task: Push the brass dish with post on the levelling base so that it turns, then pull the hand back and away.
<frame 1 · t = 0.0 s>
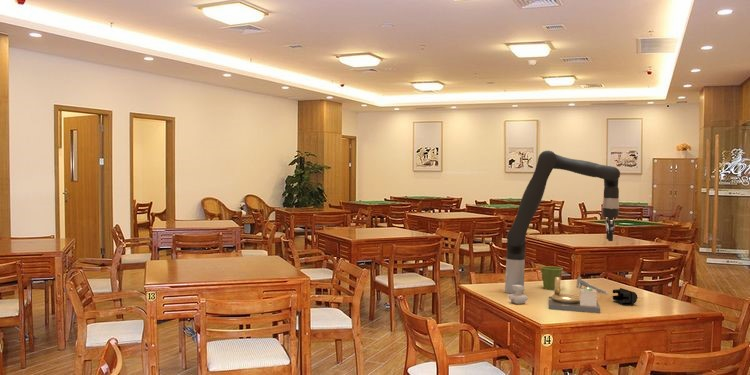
hand: (609, 240, 314), 29 cm above the table, tool pointing down, fingers open, 8 cm apart
brass dish with post: (566, 289, 299), point 7 cm above the table, hinge at 0.0°
caliper: (591, 291, 338), on the table
end cap: (624, 304, 305), on the table
plant pot: (550, 289, 340), on the table
levelling base: (573, 306, 295), on the table
white rounded piece: (517, 303, 300), on the table
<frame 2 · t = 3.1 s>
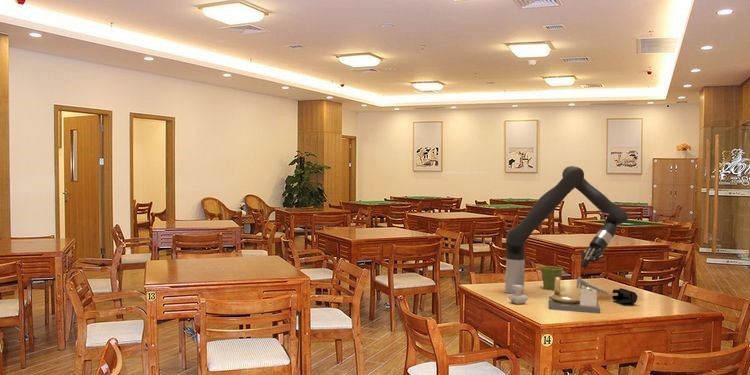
hand: (582, 266, 312), 16 cm above the table, tool tilted 45°, fingers closed
nothing on the table moved.
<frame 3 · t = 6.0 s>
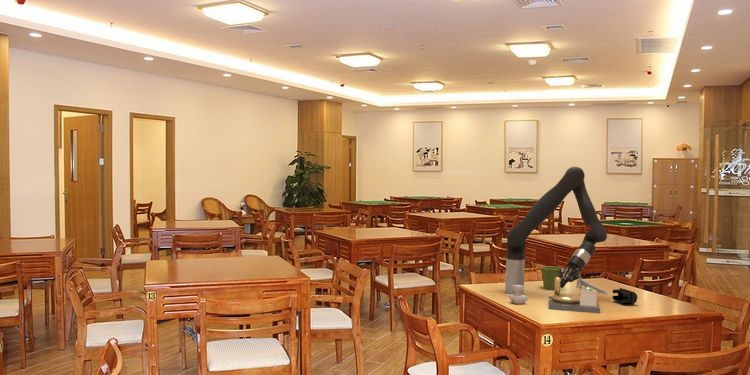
hand: (560, 286, 305), 7 cm above the table, tool tilted 45°, fingers closed
brass dish with post: (566, 289, 299), point 7 cm above the table, hinge at 0.0°, touching gripper
everything else where it was.
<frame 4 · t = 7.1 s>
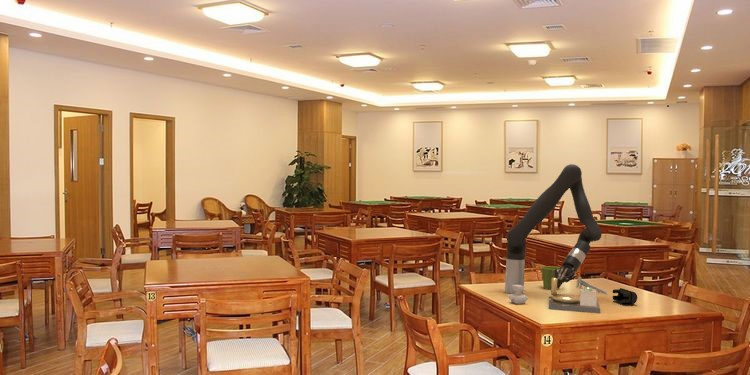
hand: (555, 287, 303), 7 cm above the table, tool tilted 45°, fingers closed
brass dish with post: (566, 289, 299), point 7 cm above the table, hinge at 28.7°, touching gripper
everything else where it was.
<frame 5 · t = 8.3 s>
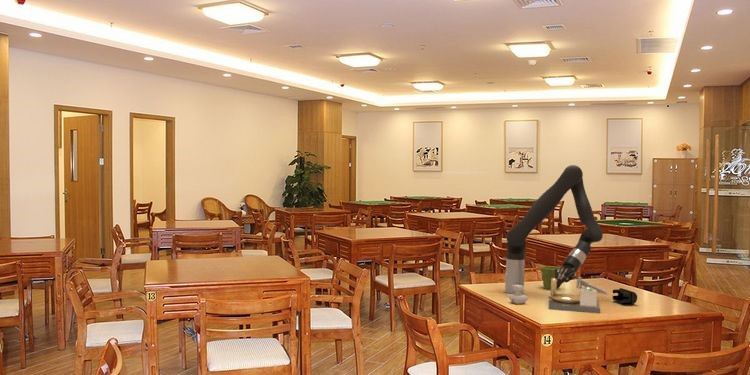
hand: (555, 287, 303), 7 cm above the table, tool tilted 45°, fingers closed
brass dish with post: (566, 289, 299), point 7 cm above the table, hinge at 41.6°
everything else where it was.
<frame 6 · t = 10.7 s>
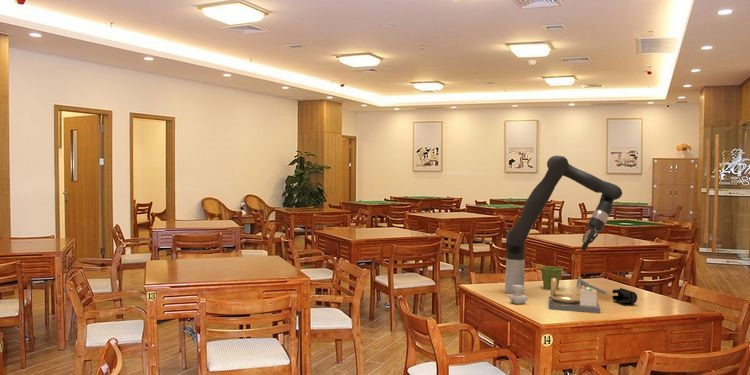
hand: (582, 250, 316), 24 cm above the table, tool tilted 35°, fingers closed
nothing on the table moved.
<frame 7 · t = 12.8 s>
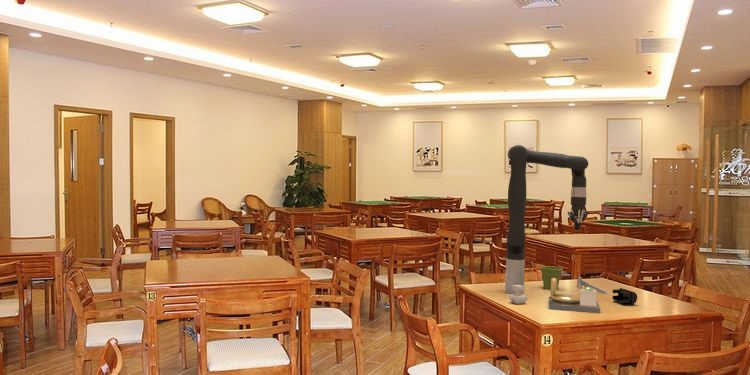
hand: (577, 230, 324), 33 cm above the table, tool pointing down, fingers closed
nothing on the table moved.
at the end: brass dish with post at +42° (first picture: +0°) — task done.
